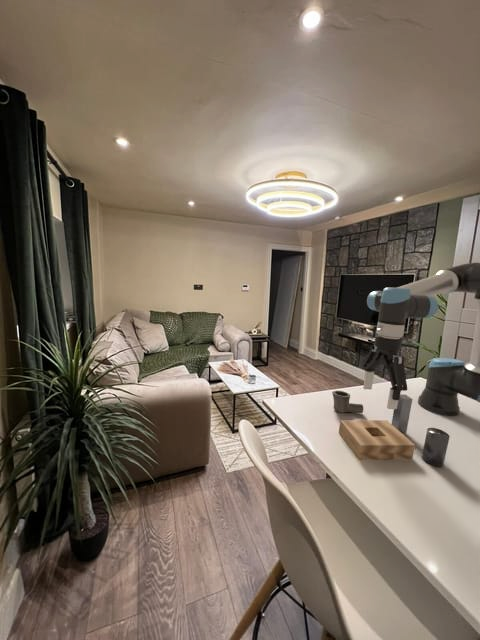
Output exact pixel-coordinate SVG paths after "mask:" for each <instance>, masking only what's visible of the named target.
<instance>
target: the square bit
mask: <svg viewBox="0 0 480 640" xmlns="http://www.w3.org/2000/svg"><path fill="white" fill-rule="evenodd" d="M412 404H413V398H412V397H410V396H408V395H407V394H402V393H400V398H399V400H398V405H397V409H393V413H392V419H391V424H392V425H393V426H394V427H395V428H396V429H397V430H399V431H400V432H401V433H402V434H403V435H407V431H408V425H409V420H410V415H411V409H412Z"/></svg>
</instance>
